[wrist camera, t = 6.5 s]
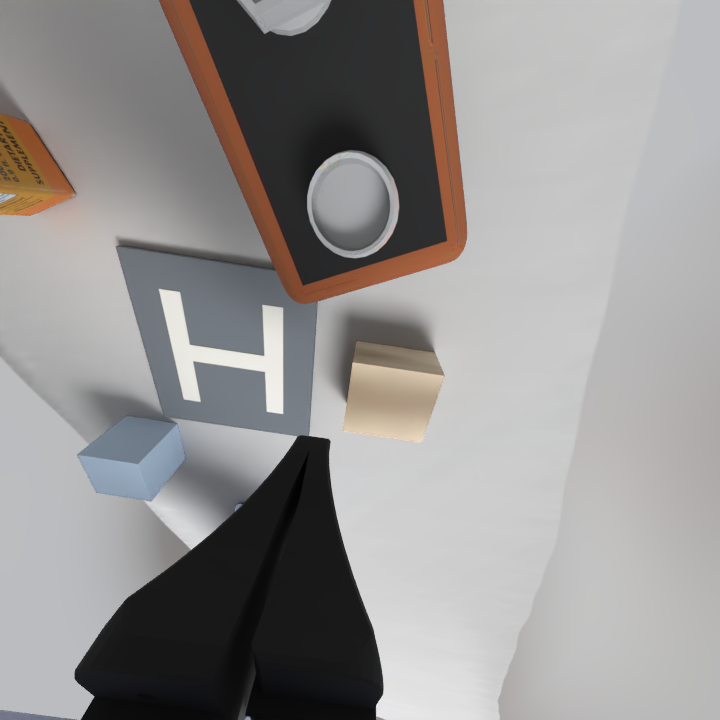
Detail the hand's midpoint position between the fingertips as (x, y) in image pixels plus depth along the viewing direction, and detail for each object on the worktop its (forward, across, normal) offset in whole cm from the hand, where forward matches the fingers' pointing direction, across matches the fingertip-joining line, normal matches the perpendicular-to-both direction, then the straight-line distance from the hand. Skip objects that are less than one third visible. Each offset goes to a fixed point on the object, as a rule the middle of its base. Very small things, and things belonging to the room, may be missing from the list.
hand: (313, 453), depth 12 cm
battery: (+7, 0, -11) cm, 13 cm away
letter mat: (+7, +7, 0) cm, 10 cm away
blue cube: (+7, +14, +9) cm, 18 cm away
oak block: (+7, -4, 0) cm, 8 cm away
